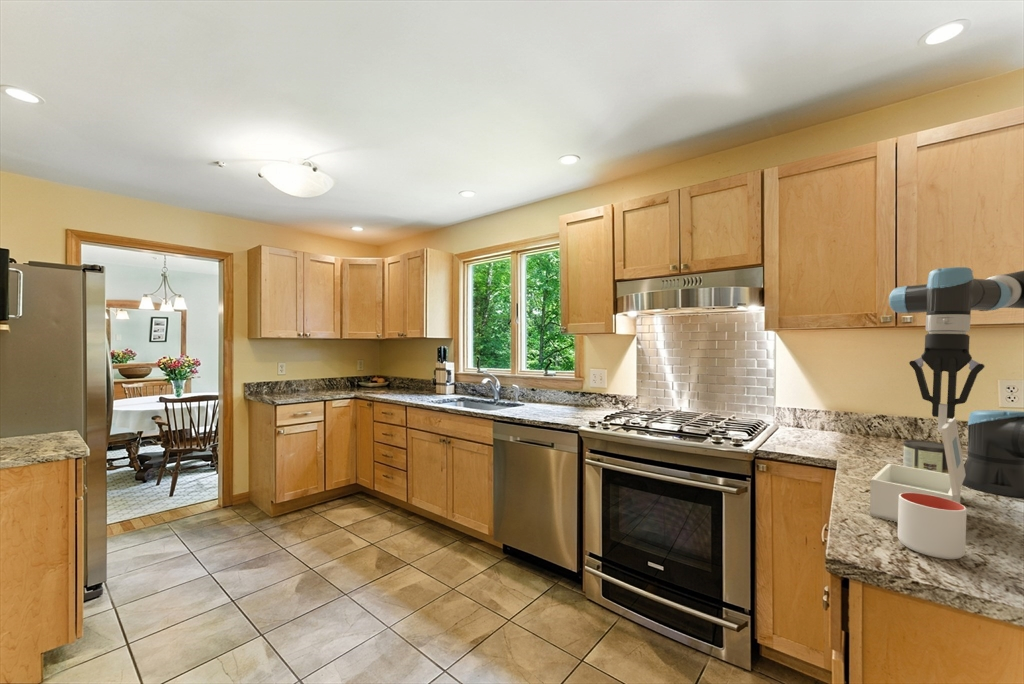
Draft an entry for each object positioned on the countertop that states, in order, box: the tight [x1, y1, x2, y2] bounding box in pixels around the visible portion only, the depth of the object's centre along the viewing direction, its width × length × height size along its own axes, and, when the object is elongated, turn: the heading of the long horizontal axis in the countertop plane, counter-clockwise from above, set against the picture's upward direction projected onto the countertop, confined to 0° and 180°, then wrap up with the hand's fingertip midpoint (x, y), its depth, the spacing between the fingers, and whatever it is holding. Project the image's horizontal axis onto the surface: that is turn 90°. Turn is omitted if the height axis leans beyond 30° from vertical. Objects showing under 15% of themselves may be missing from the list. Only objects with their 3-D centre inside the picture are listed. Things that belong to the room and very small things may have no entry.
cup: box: [897, 493, 968, 560], centre depth 89 cm, size 10×10×10 cm
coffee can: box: [902, 439, 949, 474], centre depth 122 cm, size 10×10×14 cm
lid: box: [941, 416, 966, 495], centre depth 102 cm, size 14×23×1 cm
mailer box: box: [869, 462, 962, 524], centre depth 107 cm, size 14×22×9 cm, turn 131°
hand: (942, 431), depth 104 cm, fingers closed
